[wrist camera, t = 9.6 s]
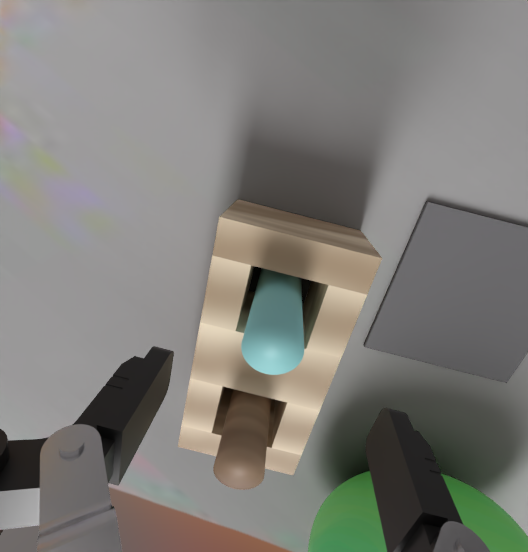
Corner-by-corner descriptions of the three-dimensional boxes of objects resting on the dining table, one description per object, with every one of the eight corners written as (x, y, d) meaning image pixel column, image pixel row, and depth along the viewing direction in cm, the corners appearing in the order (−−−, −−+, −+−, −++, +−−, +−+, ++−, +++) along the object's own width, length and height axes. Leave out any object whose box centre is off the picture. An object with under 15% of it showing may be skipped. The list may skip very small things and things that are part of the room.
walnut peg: (244, 345, 27) (218, 448, 18) (278, 354, 27) (269, 461, 18) (237, 372, 28) (209, 482, 19) (269, 381, 28) (257, 494, 19)
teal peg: (266, 248, 24) (248, 314, 14) (305, 259, 24) (312, 331, 14) (257, 284, 25) (235, 366, 16) (294, 293, 25) (294, 380, 16)
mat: (426, 201, 21) (427, 201, 21) (597, 245, 21) (601, 246, 21) (363, 344, 26) (364, 347, 26) (504, 380, 26) (506, 382, 26)
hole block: (237, 199, 22) (219, 216, 17) (360, 230, 22) (382, 258, 17) (199, 390, 29) (177, 446, 24) (293, 413, 30) (293, 475, 24)
